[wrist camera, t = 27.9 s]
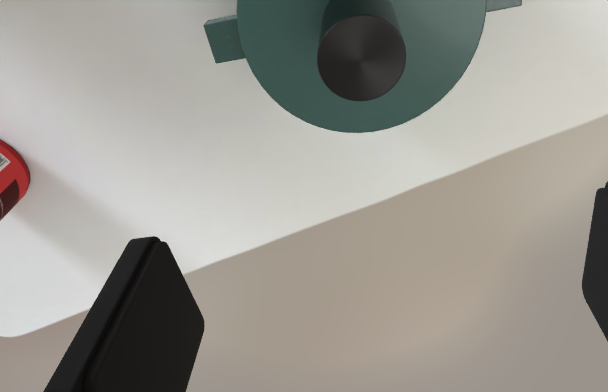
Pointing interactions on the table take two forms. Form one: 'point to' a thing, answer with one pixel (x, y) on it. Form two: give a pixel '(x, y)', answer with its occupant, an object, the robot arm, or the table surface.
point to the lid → (359, 56)
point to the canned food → (11, 178)
